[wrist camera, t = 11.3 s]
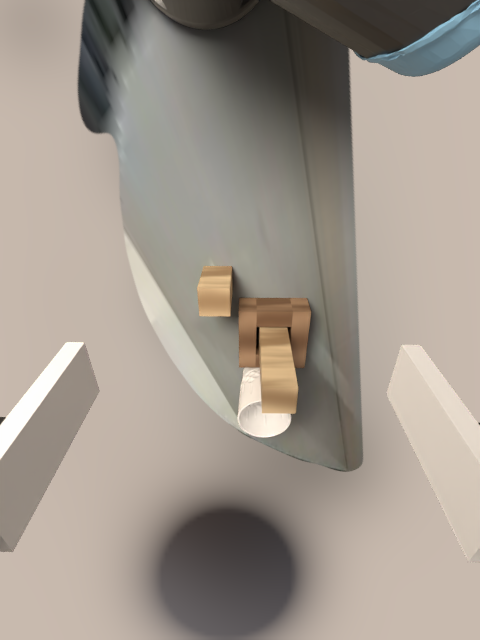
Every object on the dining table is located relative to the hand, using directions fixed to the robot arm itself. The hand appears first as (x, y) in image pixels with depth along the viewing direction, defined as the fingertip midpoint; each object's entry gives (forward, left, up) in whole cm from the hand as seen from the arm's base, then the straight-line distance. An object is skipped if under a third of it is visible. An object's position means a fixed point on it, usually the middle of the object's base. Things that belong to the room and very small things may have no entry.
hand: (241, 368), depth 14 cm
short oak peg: (+11, -4, -33) cm, 35 cm away
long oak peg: (+19, +4, -33) cm, 38 cm away
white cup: (+29, +3, -33) cm, 44 cm away
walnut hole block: (+19, +4, -33) cm, 38 cm away
